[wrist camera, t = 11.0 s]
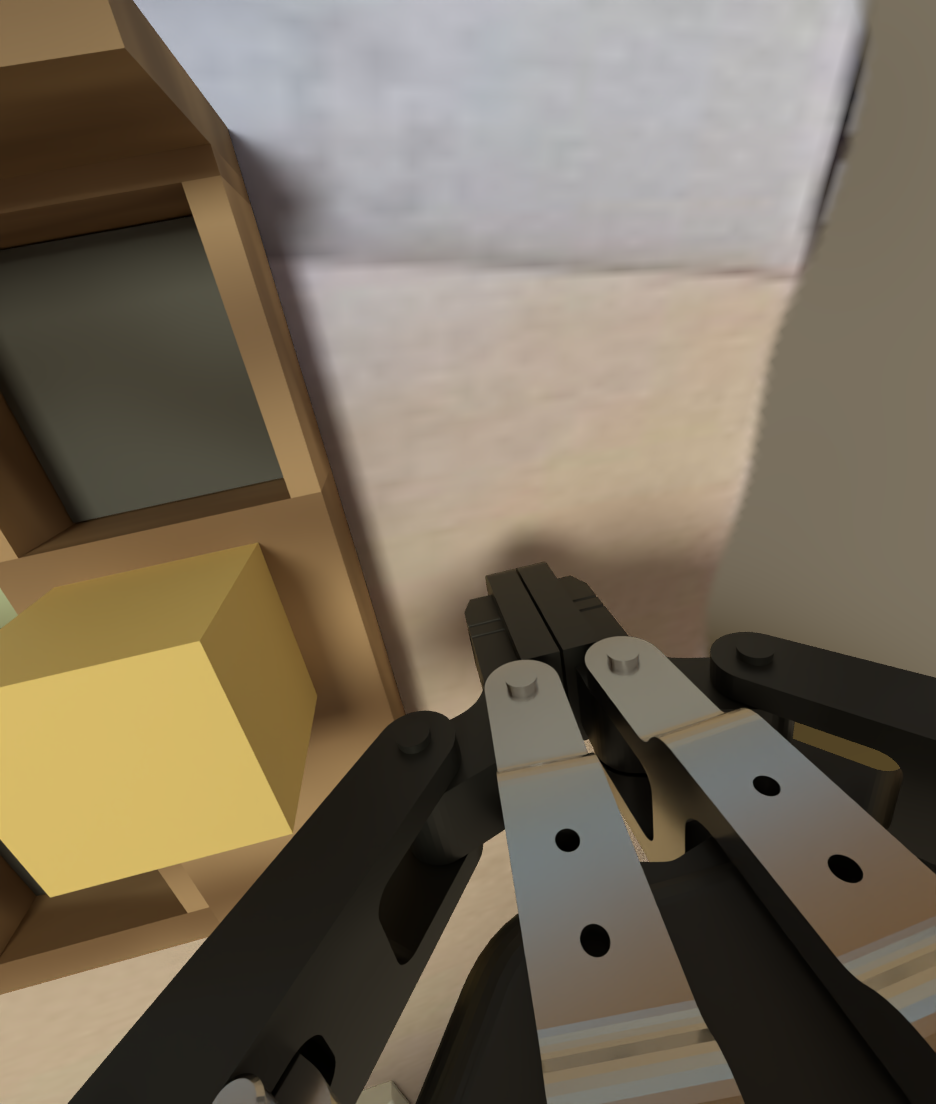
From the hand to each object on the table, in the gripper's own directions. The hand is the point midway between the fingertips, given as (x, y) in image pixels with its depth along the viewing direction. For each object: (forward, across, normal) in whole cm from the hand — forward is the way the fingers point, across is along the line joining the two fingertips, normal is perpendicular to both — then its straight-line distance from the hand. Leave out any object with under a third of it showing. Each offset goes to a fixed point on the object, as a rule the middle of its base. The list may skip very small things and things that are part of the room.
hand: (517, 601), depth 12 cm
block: (+2, +8, 0) cm, 9 cm away
